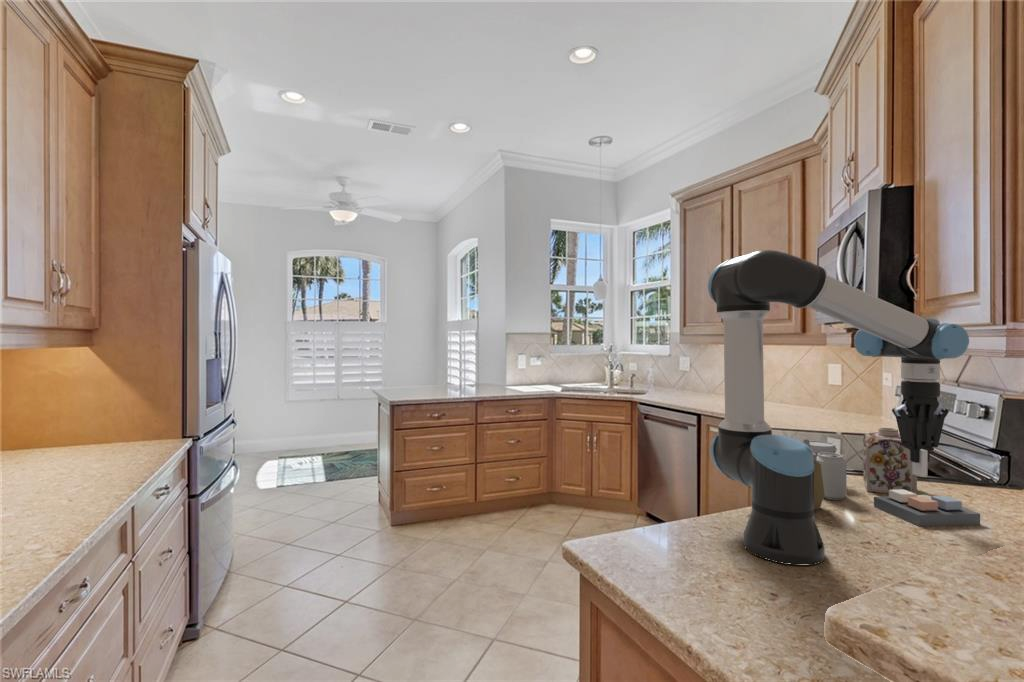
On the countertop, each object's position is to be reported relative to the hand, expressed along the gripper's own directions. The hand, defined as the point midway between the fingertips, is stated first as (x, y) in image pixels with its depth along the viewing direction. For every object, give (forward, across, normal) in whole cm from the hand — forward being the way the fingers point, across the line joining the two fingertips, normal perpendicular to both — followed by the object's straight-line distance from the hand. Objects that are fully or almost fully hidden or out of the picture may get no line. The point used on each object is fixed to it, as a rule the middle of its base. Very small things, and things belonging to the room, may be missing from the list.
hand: (919, 475), depth 123 cm
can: (+11, -10, +18) cm, 23 cm away
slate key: (+9, +6, -1) cm, 10 cm away
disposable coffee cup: (+11, -4, +32) cm, 34 cm away
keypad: (+11, +3, +2) cm, 11 cm away
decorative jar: (+11, +11, +22) cm, 27 cm away
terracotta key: (+9, 0, -1) cm, 9 cm away
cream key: (+9, 0, +5) cm, 10 cm away
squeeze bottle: (+11, -22, +10) cm, 27 cm away
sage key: (+10, +6, +5) cm, 12 cm away
